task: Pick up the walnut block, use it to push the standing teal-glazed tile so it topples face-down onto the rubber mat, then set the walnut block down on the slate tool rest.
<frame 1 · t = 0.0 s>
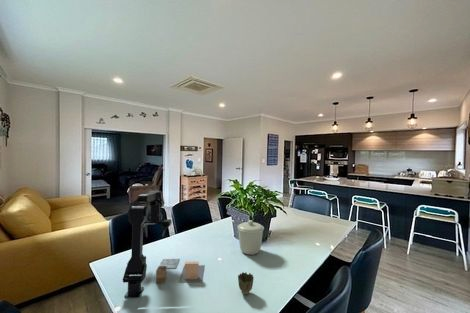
hand: (154, 237, 125), 15 cm above the table, fingers open, 9 cm apart
walnut block: (161, 281, 106), on the table
tool rest: (169, 264, 122), on the table
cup: (245, 293, 98), on the table
canister: (250, 251, 141), on the table
glazed tile: (191, 277, 109), point 1 cm above the table, touching rubber mat
rubber mat: (192, 274, 113), on the table
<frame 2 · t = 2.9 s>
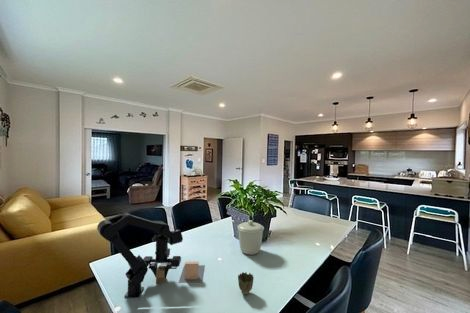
hand: (161, 277, 106), 2 cm above the table, fingers closed on walnut block, 4 cm apart
walnut block: (161, 281, 106), on the table, touching gripper
everything else where it was.
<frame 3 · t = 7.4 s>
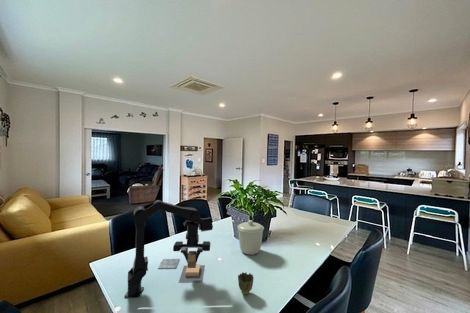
hand: (192, 262, 109), 9 cm above the table, fingers closed on walnut block, 4 cm apart
walnut block: (192, 265, 109), point 7 cm above the table, touching gripper
glazed tile: (191, 274, 110), point 2 cm above the table, tilted 90°, touching rubber mat
everything else where it was.
when the fingers open (4 cm above the table, at t = 11.8 s): walnut block drops 1 cm, resting on tool rest.
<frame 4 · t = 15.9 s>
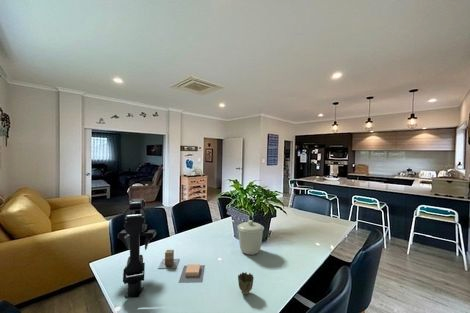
hand: (137, 249, 114), 12 cm above the table, fingers open, 9 cm apart
walnut block: (169, 263, 122), point 1 cm above the table, touching tool rest
everything else where it was.
at the end: glazed tile tilted 90°; glazed tile inside the target area (1.4 cm from its centre), point 1.7 cm above the table; walnut block inside the target area on the tool rest (0.1 cm from its centre), point 1.0 cm above the tool rest's base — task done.
